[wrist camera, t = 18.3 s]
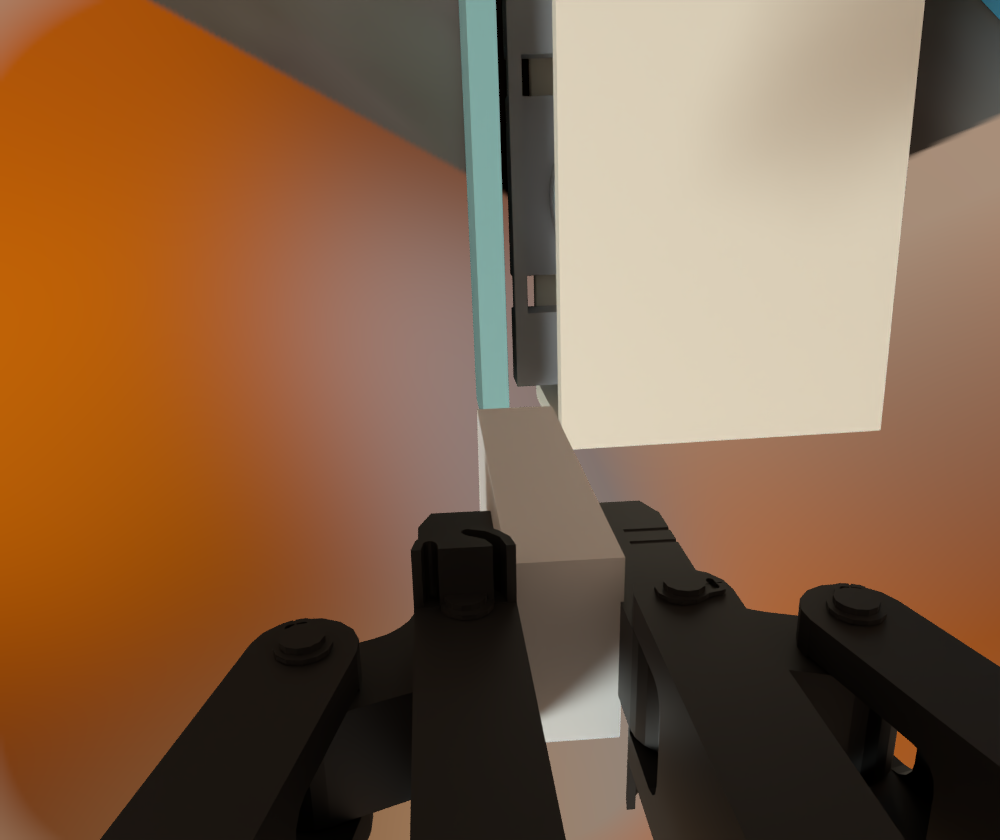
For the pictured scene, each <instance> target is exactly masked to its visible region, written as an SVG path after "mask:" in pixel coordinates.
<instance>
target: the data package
mask: <svg viewBox="0 0 1000 840" xmlns="http://www.w3.org/2000/svg"><path fill="white" fill-rule="evenodd" d="M982 2H983V3H984V4H985V5H986V6H987V7H988V8H989V9H990V10H991V11H992V12H993V13H994V14H995V15H996V16H997V17H998V18H999V20H1000V0H982Z"/></svg>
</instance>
